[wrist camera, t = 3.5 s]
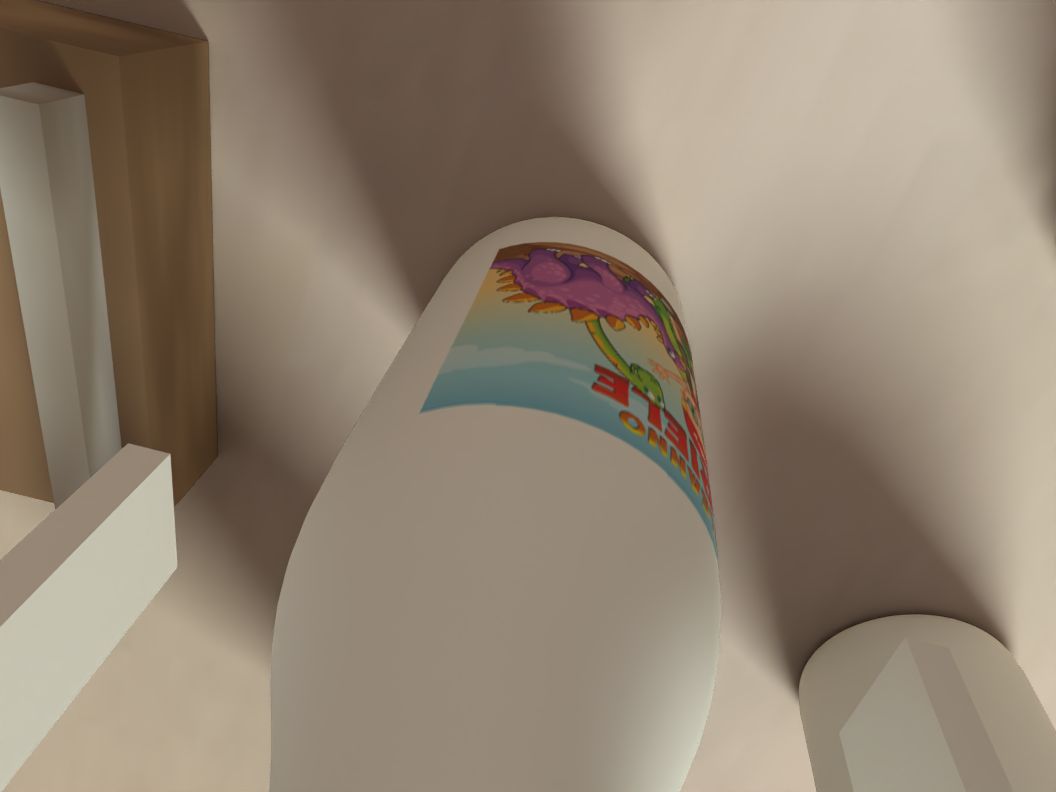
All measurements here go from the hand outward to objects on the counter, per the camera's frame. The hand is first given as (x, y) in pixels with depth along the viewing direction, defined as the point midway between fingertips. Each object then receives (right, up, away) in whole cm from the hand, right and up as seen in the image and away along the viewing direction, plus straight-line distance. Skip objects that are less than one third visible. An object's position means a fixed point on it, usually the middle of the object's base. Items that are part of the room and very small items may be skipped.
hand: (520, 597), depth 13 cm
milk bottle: (+1, +6, +10) cm, 11 cm away
